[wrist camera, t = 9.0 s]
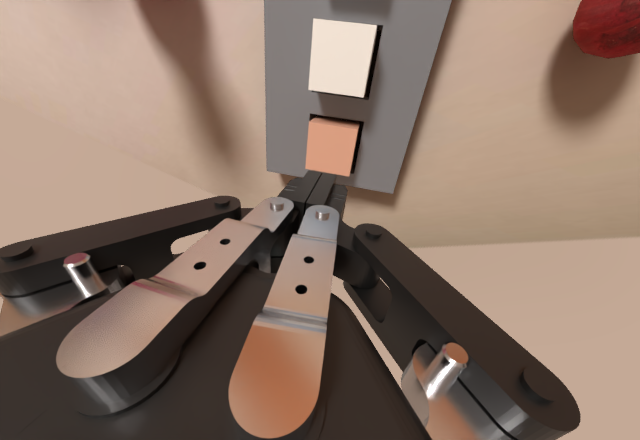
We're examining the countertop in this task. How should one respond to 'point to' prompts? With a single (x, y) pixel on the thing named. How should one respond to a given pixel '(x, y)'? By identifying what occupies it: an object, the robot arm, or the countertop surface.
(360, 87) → the white key
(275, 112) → the board
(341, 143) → the terracotta key
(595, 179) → the countertop surface
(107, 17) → the countertop surface
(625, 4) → the onion
